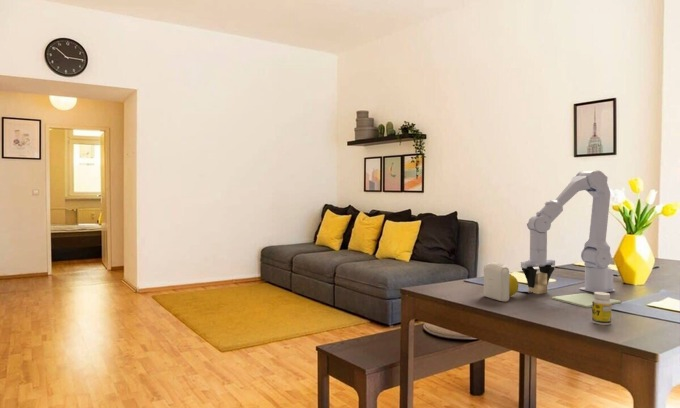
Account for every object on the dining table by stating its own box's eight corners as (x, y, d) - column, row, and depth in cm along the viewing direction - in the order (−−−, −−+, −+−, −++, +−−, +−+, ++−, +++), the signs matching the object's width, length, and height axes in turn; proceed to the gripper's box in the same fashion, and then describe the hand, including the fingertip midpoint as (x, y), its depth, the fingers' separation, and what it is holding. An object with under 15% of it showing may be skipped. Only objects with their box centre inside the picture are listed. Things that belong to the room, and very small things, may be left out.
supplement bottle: (588, 320, 142) (589, 291, 141) (604, 320, 142) (604, 291, 142) (598, 325, 137) (599, 295, 137) (614, 325, 137) (615, 294, 137)
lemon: (519, 299, 169) (519, 275, 169) (502, 298, 170) (502, 275, 170) (516, 295, 175) (517, 272, 174) (500, 294, 176) (500, 272, 175)
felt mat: (584, 294, 176) (585, 292, 176) (621, 302, 163) (621, 301, 163) (551, 298, 169) (551, 296, 169) (586, 307, 157) (586, 305, 157)
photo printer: (481, 296, 174) (481, 260, 174) (491, 295, 175) (492, 260, 175) (500, 302, 164) (500, 265, 164) (511, 301, 166) (511, 264, 165)
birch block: (537, 290, 183) (537, 271, 183) (547, 292, 179) (547, 273, 179) (528, 291, 181) (528, 272, 181) (537, 293, 177) (538, 274, 177)
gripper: (544, 246, 186) (544, 282, 187) (514, 249, 180) (514, 286, 181) (559, 249, 180) (559, 286, 180) (529, 251, 174) (529, 289, 174)
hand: (537, 286), depth 180 cm, fingers open, 6 cm apart
